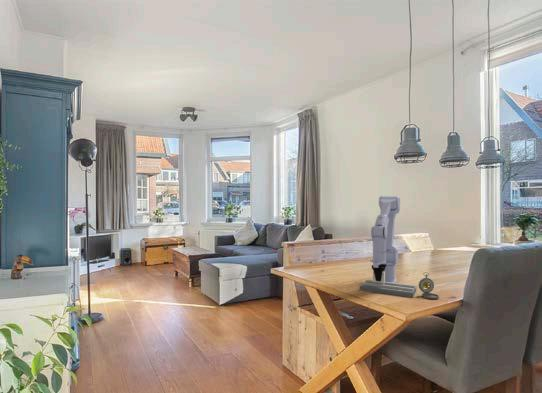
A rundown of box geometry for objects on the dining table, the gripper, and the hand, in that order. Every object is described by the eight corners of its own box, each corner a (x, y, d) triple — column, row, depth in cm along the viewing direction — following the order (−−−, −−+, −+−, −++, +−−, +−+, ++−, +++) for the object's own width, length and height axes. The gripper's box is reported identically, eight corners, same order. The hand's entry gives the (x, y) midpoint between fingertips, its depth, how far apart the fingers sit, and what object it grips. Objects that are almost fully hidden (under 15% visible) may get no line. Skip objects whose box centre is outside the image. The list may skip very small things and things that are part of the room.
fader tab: (374, 283, 163) (374, 270, 163) (385, 284, 160) (385, 271, 160) (372, 285, 159) (372, 271, 159) (383, 286, 157) (383, 273, 157)
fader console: (366, 284, 169) (366, 278, 169) (416, 290, 157) (416, 284, 157) (359, 290, 158) (359, 283, 158) (413, 297, 147) (413, 290, 147)
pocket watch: (433, 300, 142) (433, 276, 142) (415, 295, 149) (415, 273, 149) (443, 297, 147) (443, 274, 147) (425, 292, 154) (425, 270, 154)
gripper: (374, 248, 168) (374, 276, 168) (366, 252, 156) (366, 282, 156) (388, 249, 165) (388, 277, 165) (382, 254, 152) (382, 284, 152)
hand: (379, 280), depth 160 cm, fingers closed on fader tab, 2 cm apart
